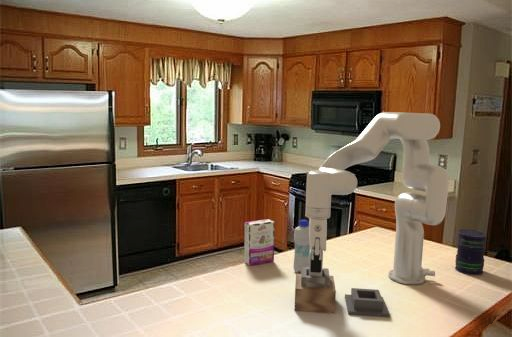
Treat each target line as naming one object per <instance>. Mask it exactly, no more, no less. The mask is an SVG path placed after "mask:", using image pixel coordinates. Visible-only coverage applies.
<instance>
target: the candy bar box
mask: <svg viewBox="0 0 512 337" xmlns="http://www.w3.org/2000/svg"><path fill="white" fill-rule="evenodd" d="M243 245H244V254H243V255H244V259H243V260H244V263H245V264H247V265H248V266H255V265H260V264H261V265H262V264H267V263H272V262H274V261H275V221H274V220H271V219H269V218H268V219H267V218H266V219H260V220H253V221H245V222H244V244H243Z"/></svg>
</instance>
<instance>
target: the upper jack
mask: <svg viewBox="0 0 512 337" xmlns="http://www.w3.org/2000/svg"><path fill="white" fill-rule="evenodd" d="M329 270H330V269H329V268H327V267H326V268H325V267H322V276H309V267H302V272H300V273H295V284H294V285H295V288H294V309H293V310H294V311H295V312H308V313H309V312H311V313H320V314H321V313H324V314H325V313H326V314H335V313H336V299H337V298H336V297H337V296H336V295H337V294H336V293H337V289H336V284H335V279H334V275H330V271H329Z"/></svg>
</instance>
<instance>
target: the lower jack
mask: <svg viewBox="0 0 512 337" xmlns="http://www.w3.org/2000/svg"><path fill="white" fill-rule="evenodd" d="M350 291H351V292H350V294H346V293H345V294H344V301H345V305H346V309H347V313H348V315H353V316H363V317H365V316H366V317H377V318H378V317H380V318H390V317H391V314H390V311H389V308H388V306H387V304H386V302H385V299H384V297H383V296H382V295H381V292H380V290H379V289H371V288H355V287H354V288H353V287H351V290H350Z"/></svg>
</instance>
